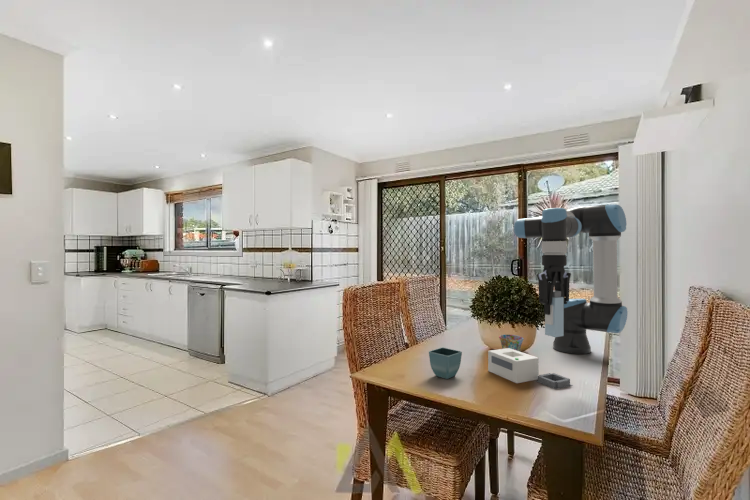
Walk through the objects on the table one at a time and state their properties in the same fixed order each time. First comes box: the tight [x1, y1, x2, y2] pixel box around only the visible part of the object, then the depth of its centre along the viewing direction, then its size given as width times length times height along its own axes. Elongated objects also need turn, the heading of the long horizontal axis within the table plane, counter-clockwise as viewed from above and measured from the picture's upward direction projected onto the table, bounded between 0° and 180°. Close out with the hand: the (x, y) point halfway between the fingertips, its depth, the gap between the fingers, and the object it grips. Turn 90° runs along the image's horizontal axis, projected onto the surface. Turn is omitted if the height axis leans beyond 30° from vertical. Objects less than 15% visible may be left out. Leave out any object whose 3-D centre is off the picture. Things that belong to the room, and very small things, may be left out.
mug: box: [498, 334, 525, 352], centre depth 149 cm, size 12×9×11 cm
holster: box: [535, 372, 573, 390], centre depth 124 cm, size 8×8×2 cm
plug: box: [544, 289, 564, 338], centre depth 124 cm, size 4×4×15 cm
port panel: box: [487, 348, 540, 384], centre depth 132 cm, size 10×14×8 cm
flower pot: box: [428, 347, 463, 380], centre depth 133 cm, size 9×9×9 cm
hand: (554, 323), depth 124 cm, fingers closed on plug, 4 cm apart
